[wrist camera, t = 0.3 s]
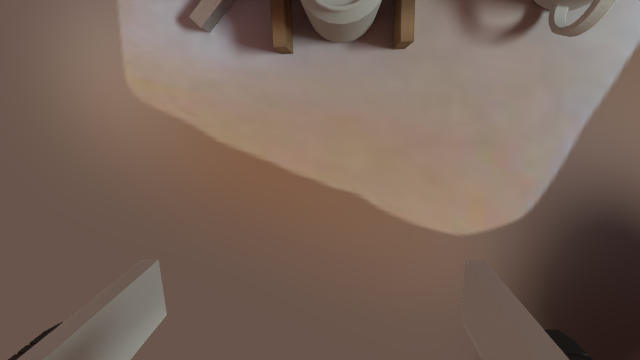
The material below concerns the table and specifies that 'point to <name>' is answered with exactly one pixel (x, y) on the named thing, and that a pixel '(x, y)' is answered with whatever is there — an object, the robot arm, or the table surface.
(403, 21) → the parallel wooden walls
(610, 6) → the mug
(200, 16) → the v block
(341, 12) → the can
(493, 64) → the table surface
